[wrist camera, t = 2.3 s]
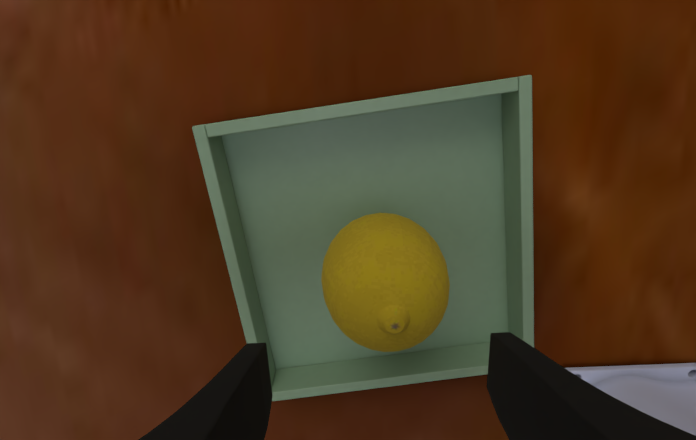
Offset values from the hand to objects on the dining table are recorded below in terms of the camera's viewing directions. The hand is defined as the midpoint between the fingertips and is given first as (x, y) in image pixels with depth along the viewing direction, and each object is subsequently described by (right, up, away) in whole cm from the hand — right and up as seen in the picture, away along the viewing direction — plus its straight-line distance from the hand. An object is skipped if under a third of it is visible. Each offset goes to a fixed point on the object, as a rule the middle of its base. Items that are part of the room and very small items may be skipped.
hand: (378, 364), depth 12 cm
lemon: (+1, +3, +9) cm, 9 cm away
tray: (+1, +3, +9) cm, 10 cm away
